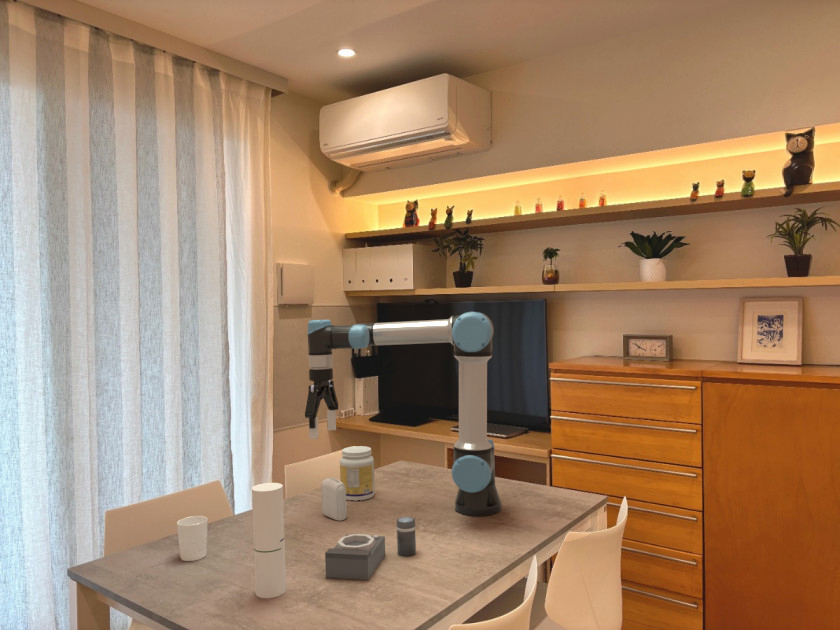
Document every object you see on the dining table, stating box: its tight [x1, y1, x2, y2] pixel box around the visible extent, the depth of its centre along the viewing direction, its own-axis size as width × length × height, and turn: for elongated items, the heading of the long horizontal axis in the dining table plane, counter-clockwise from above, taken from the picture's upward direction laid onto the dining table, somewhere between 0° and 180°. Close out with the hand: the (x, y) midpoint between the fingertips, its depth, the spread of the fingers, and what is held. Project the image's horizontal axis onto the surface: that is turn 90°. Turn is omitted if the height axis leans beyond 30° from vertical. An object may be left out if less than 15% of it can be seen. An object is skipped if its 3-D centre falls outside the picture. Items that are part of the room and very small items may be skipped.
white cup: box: [176, 515, 208, 562], centre depth 171 cm, size 8×8×10 cm
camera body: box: [324, 533, 386, 581], centre depth 162 cm, size 16×11×7 cm
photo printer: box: [321, 477, 348, 522], centre depth 201 cm, size 10×4×12 cm, turn 39°
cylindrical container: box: [251, 482, 287, 599], centre depth 148 cm, size 7×7×25 cm
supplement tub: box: [339, 445, 376, 502], centre depth 222 cm, size 12×12×17 cm
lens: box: [396, 516, 417, 558], centre depth 169 cm, size 5×5×9 cm
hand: (323, 434), depth 199 cm, fingers open, 13 cm apart
